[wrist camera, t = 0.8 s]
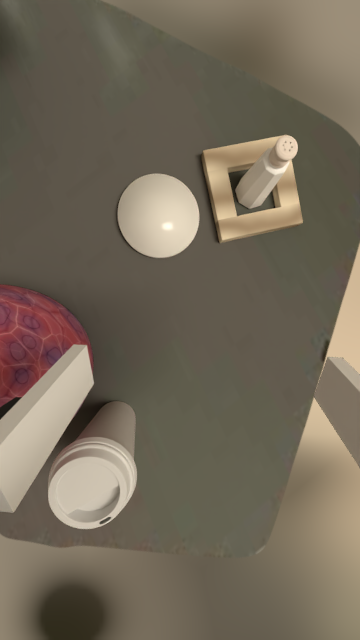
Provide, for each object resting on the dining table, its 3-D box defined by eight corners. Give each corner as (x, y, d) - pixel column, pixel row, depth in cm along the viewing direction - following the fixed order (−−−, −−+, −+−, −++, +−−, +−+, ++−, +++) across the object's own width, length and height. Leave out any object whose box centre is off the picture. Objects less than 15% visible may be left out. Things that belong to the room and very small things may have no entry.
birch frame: (201, 157, 36) (203, 150, 35) (281, 141, 37) (286, 134, 36) (219, 243, 38) (222, 240, 36) (297, 225, 39) (302, 222, 37)
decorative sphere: (0, 425, 36) (-193, 571, 16) (-38, 306, 35) (-303, 307, 15) (121, 394, 38) (79, 493, 18) (91, 278, 36) (6, 244, 16)
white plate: (109, 185, 35) (108, 182, 35) (188, 169, 36) (189, 166, 36) (129, 266, 36) (129, 265, 36) (206, 249, 37) (207, 247, 37)
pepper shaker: (267, 178, 38) (311, 126, 27) (264, 211, 38) (306, 172, 27) (236, 173, 37) (268, 118, 26) (233, 207, 37) (263, 166, 26)
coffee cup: (91, 450, 38) (46, 544, 23) (83, 395, 37) (33, 456, 22) (147, 442, 39) (139, 527, 24) (141, 388, 38) (129, 442, 23)
